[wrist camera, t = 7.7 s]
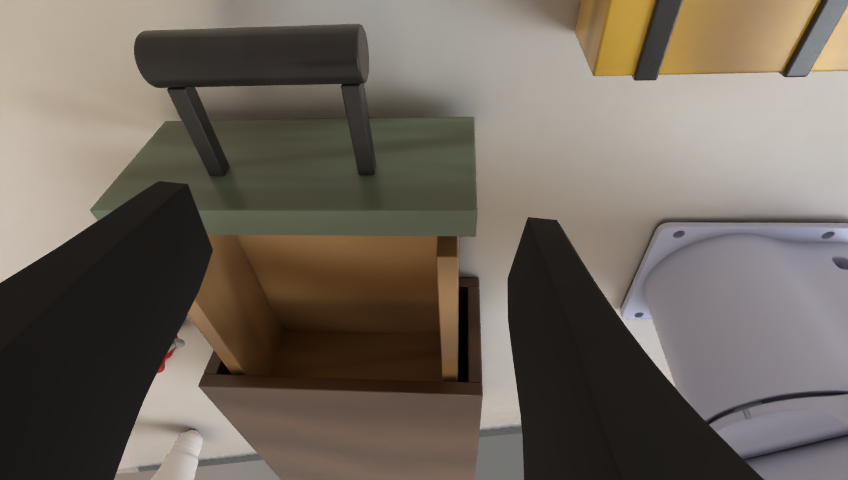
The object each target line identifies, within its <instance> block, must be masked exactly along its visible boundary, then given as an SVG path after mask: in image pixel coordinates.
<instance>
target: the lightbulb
mask: <svg viewBox="0 0 848 480" xmlns="http://www.w3.org/2000/svg"><path fill="white" fill-rule="evenodd" d="M202 443H203V438H202V437H201V436H200V435H199V433H198V432H197V431H195V430H189V431H188V432H184V433H181V434H180V435H179V436H178V438H177V440H176V441H175V444H174V446H173V448H172V450H171V452H170V453H169V454H167V456H166V457H165V459H164V461H163V463H162V465H161V467H160V468H159V470H158V471H157V473H156V474H155V475H154V476H153V477H152V478H151V480H194V477H195V472H196V468H197V465H198V455H199V452H200V450H201V446H202Z"/></svg>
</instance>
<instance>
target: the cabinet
mask: <svg viewBox="0 0 848 480" xmlns="http://www.w3.org/2000/svg"><path fill="white" fill-rule="evenodd" d="M199 387H200V389H201V390H202V391H203V392H204V393H205V394H206V395H207V397H208V398H209V399H210V400H211V401H212V402H213V403H214V404H215V406H216V407H217V408H218V409H219V410H220V411H221V412H222V414H223V415H224V416H225V417H226V418H227V419H228V420H229V421H230V423H231V424H232V425H233V426H234V427H235V428H236V429H237V431H238V432H239V433H240V434H241V435H242V436H243V437H244V439H245V440H246V441H247V442H248V443H249V444H250V445H251V446H252V448H253V449H254V450H255V451H256V452H257V453H258V454H259V456H260V457H261V458H262V459H263V460H264V461H265V462H266V463H267V464H268V466H269V467H270V468H271V469H272V470H273V471H274V473H275V474H276V475H277V476H278V477H279V478H280V479H281V480H475V475H476V463H477V453H478V442H479V430H480V419H481V408H482V396H483V392H482V360H481V327H480V294H479V278H459V344H458V382H439V381H408V380H377V379H345V378H314V377H282V376H251V375H232V374H231V372H230V371H229V370H228V368H227V367H226V365H225V364H224V363H223V361H222V360H221V359H220V357H219V356H218V355H217V353H216V352H215V351H214V350H213V353H212V355H211V357H210V360H209V362H208V364H207V367H206V369H205V371H204V374H203V376H202V378H201V381H200V383H199Z"/></svg>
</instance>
